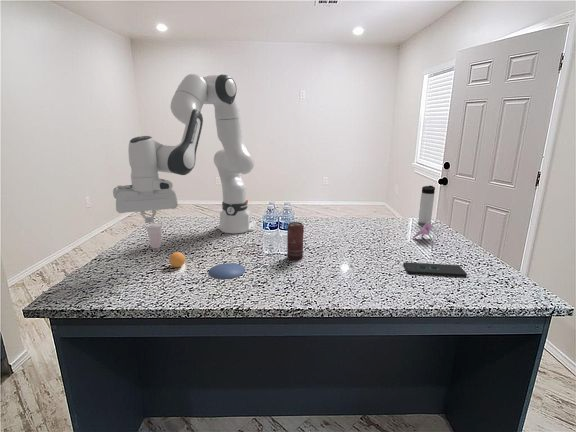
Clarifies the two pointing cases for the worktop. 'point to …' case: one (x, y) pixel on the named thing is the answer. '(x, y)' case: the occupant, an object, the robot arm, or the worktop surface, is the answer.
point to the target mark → (227, 271)
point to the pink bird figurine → (425, 230)
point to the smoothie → (154, 234)
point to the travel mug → (426, 204)
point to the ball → (177, 259)
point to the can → (295, 241)
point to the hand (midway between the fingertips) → (149, 222)
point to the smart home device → (434, 269)
